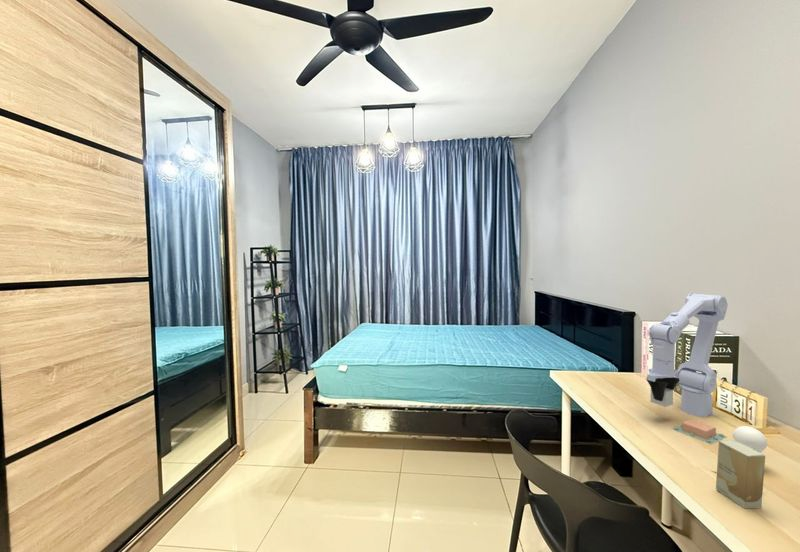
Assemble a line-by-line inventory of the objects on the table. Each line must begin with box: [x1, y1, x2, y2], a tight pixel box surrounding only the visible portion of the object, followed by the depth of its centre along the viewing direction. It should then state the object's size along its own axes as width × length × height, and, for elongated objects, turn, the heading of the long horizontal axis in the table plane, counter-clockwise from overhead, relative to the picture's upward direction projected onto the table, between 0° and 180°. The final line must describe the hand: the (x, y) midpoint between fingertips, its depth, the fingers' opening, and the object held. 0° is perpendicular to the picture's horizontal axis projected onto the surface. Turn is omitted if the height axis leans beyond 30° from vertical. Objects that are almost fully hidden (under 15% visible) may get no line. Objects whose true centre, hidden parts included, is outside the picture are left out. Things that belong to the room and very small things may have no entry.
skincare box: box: [715, 439, 766, 510], centre depth 72 cm, size 6×4×12 cm
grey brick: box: [650, 388, 674, 408], centre depth 108 cm, size 4×4×5 cm
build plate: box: [671, 424, 728, 445], centre depth 100 cm, size 10×10×1 cm
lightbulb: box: [732, 425, 768, 454], centre depth 83 cm, size 6×6×11 cm
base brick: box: [681, 418, 717, 439], centre depth 100 cm, size 6×6×2 cm
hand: (662, 398), depth 107 cm, fingers closed on grey brick, 4 cm apart
